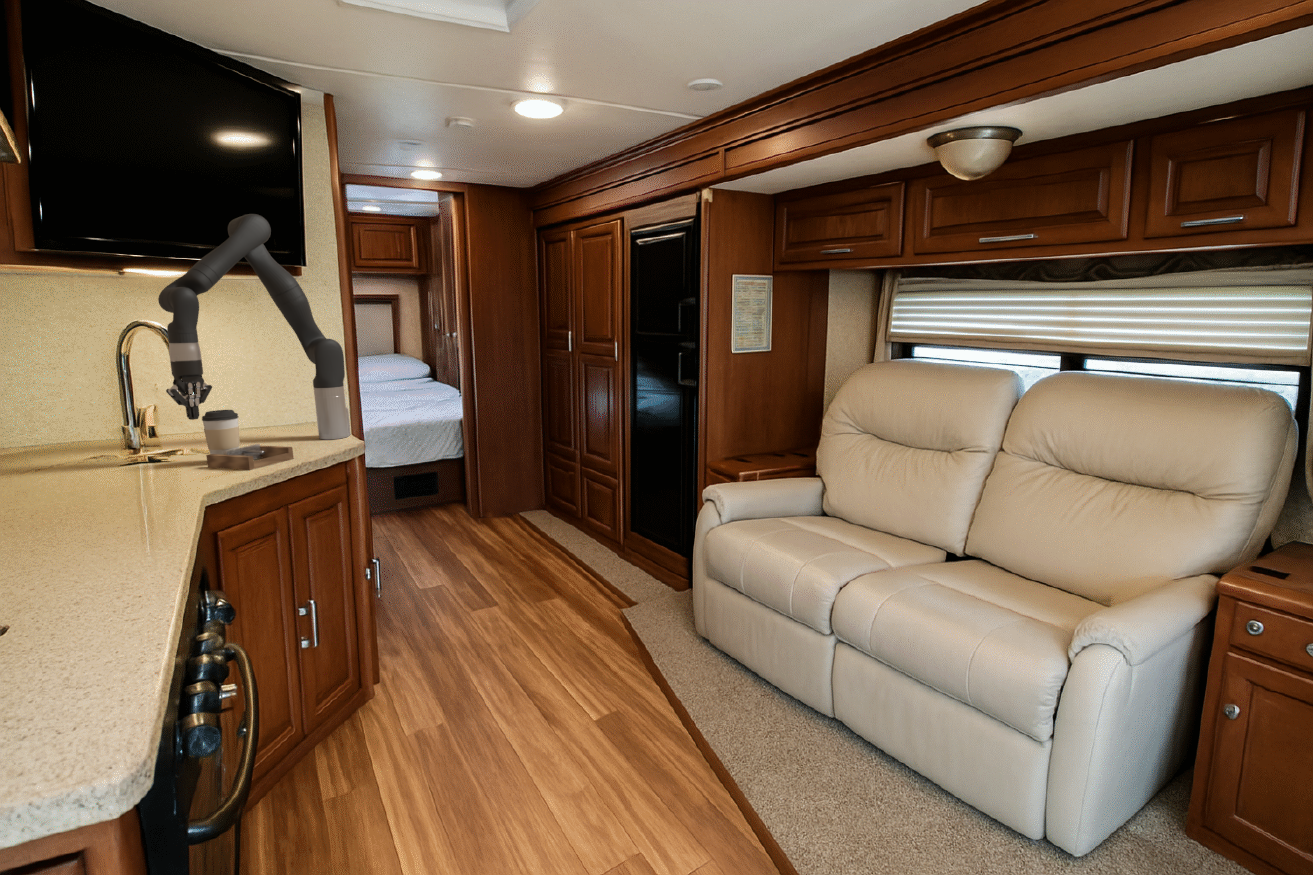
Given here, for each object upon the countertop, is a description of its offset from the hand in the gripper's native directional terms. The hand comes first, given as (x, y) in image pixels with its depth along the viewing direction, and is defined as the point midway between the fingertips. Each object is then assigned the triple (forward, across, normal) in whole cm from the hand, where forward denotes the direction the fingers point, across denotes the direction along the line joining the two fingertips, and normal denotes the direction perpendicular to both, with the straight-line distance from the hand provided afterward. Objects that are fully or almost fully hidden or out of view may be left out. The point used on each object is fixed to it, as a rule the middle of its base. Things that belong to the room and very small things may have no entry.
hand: (193, 419), depth 205 cm
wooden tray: (+12, 0, +20) cm, 23 cm away
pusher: (+12, 0, +20) cm, 23 cm away
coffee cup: (+12, 0, +10) cm, 16 cm away
